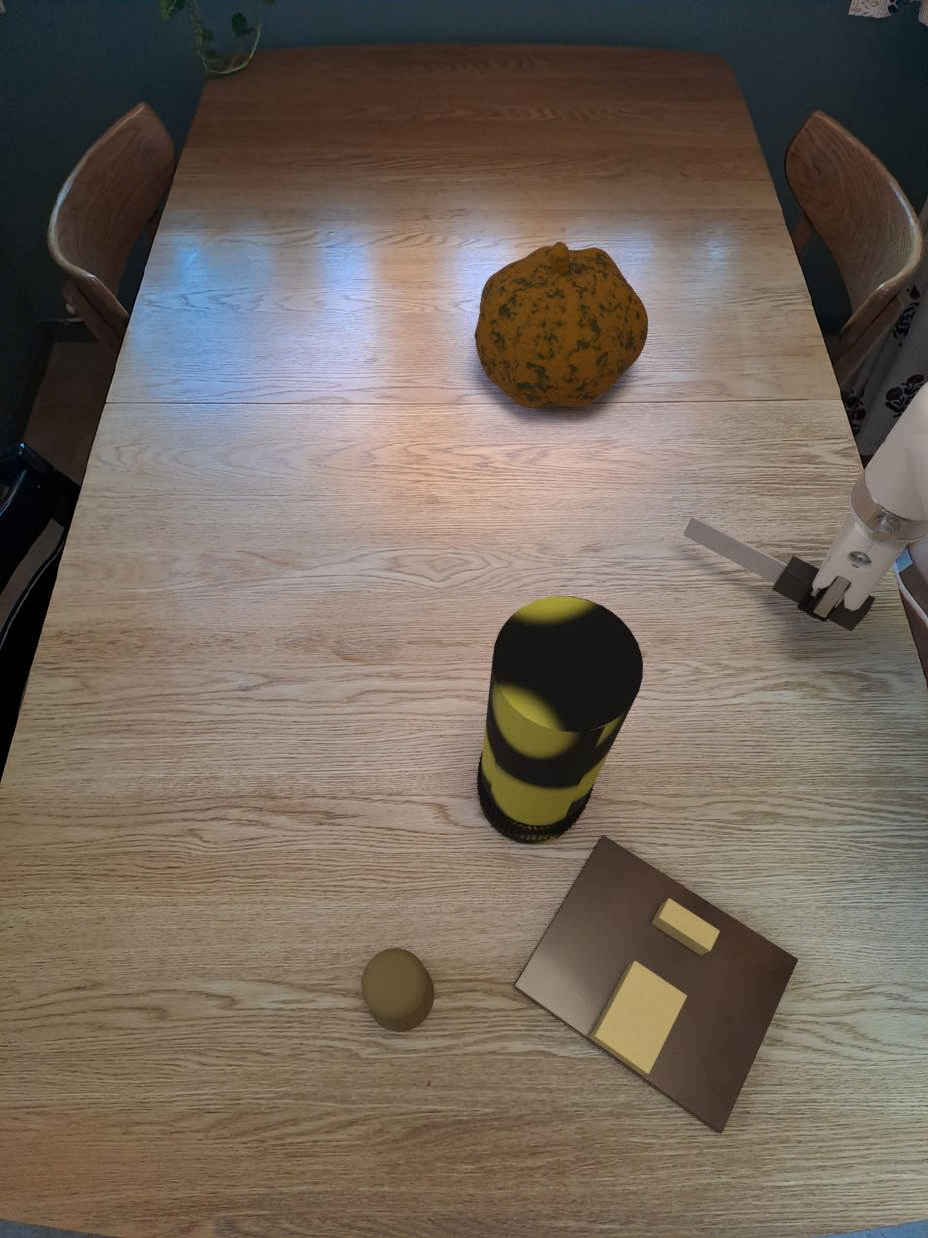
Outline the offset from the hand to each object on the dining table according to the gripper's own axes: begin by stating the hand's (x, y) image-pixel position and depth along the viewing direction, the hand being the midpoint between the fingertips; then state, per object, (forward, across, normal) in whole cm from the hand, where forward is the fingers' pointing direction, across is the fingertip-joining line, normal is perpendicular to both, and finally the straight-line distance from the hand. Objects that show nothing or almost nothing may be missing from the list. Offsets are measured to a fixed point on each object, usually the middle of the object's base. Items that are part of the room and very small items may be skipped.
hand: (817, 602), depth 89 cm
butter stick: (+3, -46, -3) cm, 46 cm away
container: (+5, -33, +15) cm, 37 cm away
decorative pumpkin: (+5, +17, +42) cm, 45 cm away
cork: (+5, -55, +15) cm, 57 cm away
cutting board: (+5, -41, -3) cm, 41 cm away
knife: (0, 0, +5) cm, 5 cm away
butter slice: (+3, -37, -3) cm, 37 cm away
